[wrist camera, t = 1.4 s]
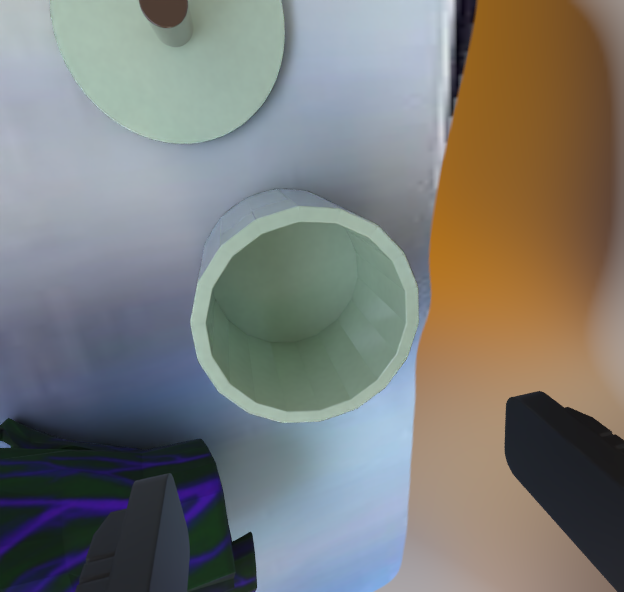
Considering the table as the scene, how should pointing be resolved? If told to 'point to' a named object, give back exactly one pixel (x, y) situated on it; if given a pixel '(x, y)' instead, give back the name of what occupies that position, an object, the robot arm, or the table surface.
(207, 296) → the pot
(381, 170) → the table surface
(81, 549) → the decorative plant
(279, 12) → the pot lid
